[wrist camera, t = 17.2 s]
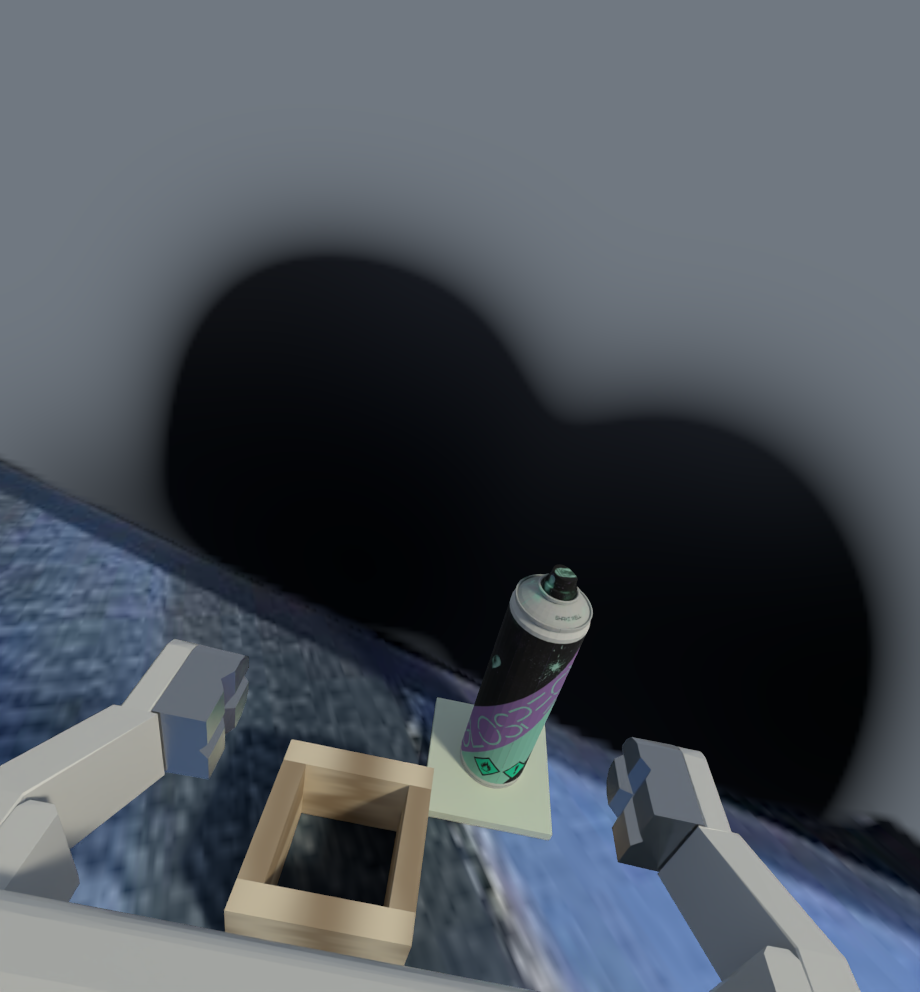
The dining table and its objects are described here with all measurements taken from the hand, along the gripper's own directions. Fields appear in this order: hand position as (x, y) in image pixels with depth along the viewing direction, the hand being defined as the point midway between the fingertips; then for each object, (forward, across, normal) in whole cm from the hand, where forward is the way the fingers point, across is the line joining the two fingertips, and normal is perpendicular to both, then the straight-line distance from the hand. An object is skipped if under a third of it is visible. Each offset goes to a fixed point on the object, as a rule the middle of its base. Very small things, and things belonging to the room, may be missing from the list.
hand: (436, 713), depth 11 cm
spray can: (+20, -8, +30) cm, 37 cm away
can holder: (+10, +2, +31) cm, 33 cm away
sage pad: (+20, -8, +31) cm, 38 cm away
